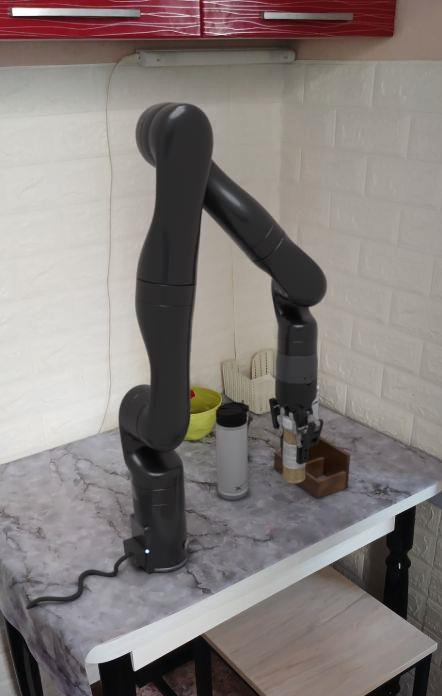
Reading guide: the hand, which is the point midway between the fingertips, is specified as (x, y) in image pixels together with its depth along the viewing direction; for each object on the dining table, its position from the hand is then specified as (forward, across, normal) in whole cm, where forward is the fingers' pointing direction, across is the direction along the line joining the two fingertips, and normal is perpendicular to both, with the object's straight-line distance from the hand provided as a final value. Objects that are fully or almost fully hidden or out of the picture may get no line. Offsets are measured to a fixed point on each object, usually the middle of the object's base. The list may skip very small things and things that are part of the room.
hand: (294, 457), depth 144 cm
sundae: (+14, -26, +4) cm, 30 cm away
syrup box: (+14, -24, +20) cm, 34 cm away
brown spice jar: (+5, 0, 0) cm, 5 cm away
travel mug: (+13, -14, -5) cm, 20 cm away
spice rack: (+13, -10, +12) cm, 21 cm away
